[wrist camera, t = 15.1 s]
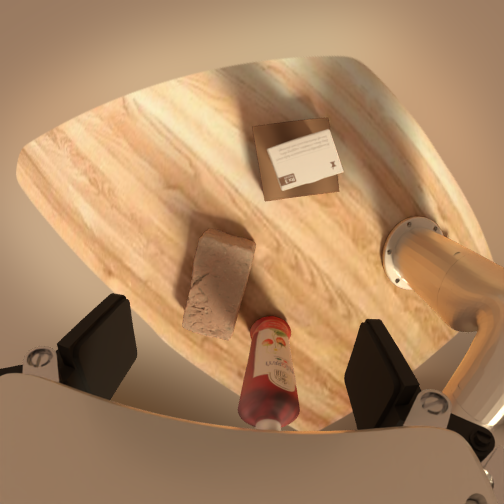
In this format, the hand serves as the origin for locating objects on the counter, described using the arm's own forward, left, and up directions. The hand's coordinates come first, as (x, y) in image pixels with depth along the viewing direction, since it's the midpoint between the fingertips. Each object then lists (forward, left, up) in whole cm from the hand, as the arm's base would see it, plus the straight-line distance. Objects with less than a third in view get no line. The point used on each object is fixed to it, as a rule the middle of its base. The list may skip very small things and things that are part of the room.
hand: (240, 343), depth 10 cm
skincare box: (-4, -8, -28) cm, 29 cm away
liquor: (-3, +20, -32) cm, 38 cm away
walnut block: (-4, -8, -33) cm, 34 cm away
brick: (+6, +12, -33) cm, 36 cm away
